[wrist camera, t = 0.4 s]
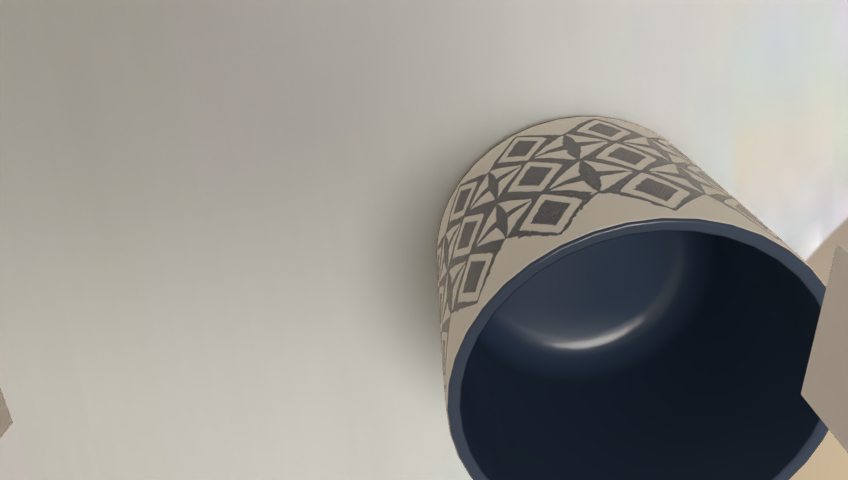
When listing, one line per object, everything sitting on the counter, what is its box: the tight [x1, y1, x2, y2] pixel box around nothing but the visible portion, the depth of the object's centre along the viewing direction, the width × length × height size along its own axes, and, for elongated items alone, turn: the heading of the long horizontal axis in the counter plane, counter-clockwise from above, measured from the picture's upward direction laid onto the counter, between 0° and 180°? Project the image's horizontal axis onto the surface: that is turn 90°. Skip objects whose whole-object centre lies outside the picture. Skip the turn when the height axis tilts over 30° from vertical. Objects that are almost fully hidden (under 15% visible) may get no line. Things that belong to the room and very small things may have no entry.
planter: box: [437, 117, 829, 480], centre depth 34 cm, size 16×16×14 cm
